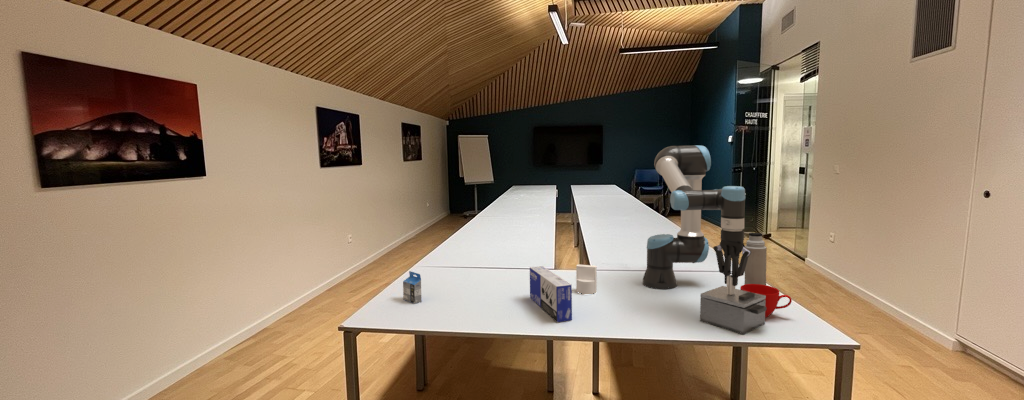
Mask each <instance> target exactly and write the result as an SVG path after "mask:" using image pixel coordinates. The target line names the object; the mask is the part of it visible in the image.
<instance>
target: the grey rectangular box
mask: <svg viewBox="0 0 1024 400" xmlns="http://www.w3.org/2000/svg"><path fill="white" fill-rule="evenodd" d="M765 304H766V300H762V301H759V302H757V303H755V304H753V305H750V306H748V307H746V308H742V307H738V306H734V305H730V304H726V303H723V302H719V301H715V300H711V299H707V298H703V297H701V296H700V304H699V305H700V307H699V321H700V322H702V323H705V324H708V325H712V326H714V327H717V328H721V329H723V330H728V331H730V332H733V333H736V334H740V335H746V334H748V333H750V332H751V331H754V330H756V329H757V328H760V327H762V326H764V325H765V324H766V323H765V322H766V317H765V311H766V307H765Z"/></svg>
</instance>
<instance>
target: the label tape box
mask: <svg viewBox="0 0 1024 400" xmlns="http://www.w3.org/2000/svg"><path fill="white" fill-rule="evenodd" d="M408 273H409V276H408V277H407V278H405V279H404V280H403V281H402V291H403V293H402V296H403V297H402V299H403V301H405V302H410V303H412V304H419V302H420V303H422V301H423V300H422V278H421V274H420V273H417V272H414V271H410V270H409V271H408Z"/></svg>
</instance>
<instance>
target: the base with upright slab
mask: <svg viewBox="0 0 1024 400" xmlns="http://www.w3.org/2000/svg"><path fill="white" fill-rule="evenodd" d="M575 266H576V269H575V271H576V272H575V274H576V276H575V279H576V283H575V284H576V285H575V286H576V287H575V289H576V291H577V292H579V293H582V294H593V293H596V292H597V290H598V289H597V286H598V285H597V283H598V282H597V279H598V278H597V276H598V273H597V268H598V266H597V265H591V264H579V263H578V264H576V265H575ZM577 292H576V293H577ZM579 293H578V294H579ZM597 293H598V292H597ZM597 293H596V294H597ZM582 294H581V295H582ZM593 295H594V294H593Z"/></svg>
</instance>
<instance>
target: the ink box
mask: <svg viewBox="0 0 1024 400" xmlns="http://www.w3.org/2000/svg"><path fill="white" fill-rule="evenodd" d="M572 291H573V289H572V283H570V282H569V281H568V280H565V279H563V278H562V277H560V276H559V275H557V274H556V273H554V272H553V271H552V270H549V269H548V268H547V267H545V266H544V265H541V266H532V267H529V298H530V299H531V300H532V301H533V302H534V301H535V302H536V303H537V304H538V305H537V304H536V303H535V302H534V303H535V304H536V305H537V306H539V308H541V310H543V311H544V312H546V314H547V315H549V316H550V317H551V318H552V319H553V320H554V321H555V322H556V323H561V322H567V321H568V322H570V321H572V320H573V312H572V311H573V300H572V299H573V294H572V293H573V292H572Z"/></svg>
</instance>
